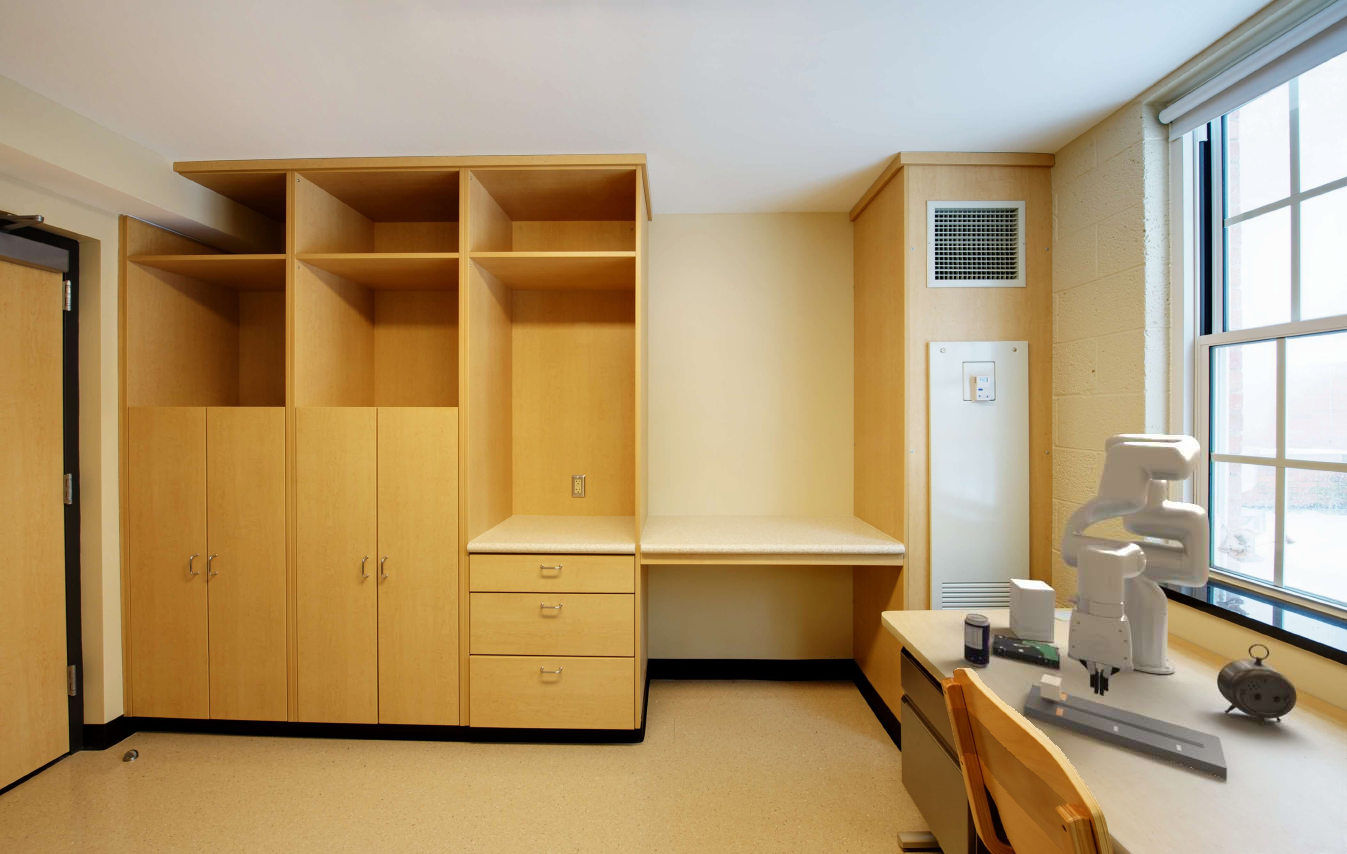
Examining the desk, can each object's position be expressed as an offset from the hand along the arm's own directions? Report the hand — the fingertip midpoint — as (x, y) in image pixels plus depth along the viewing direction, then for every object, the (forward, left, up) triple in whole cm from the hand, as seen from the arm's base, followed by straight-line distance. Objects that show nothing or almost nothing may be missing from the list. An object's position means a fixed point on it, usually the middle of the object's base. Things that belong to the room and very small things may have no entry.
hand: (1099, 692), depth 110 cm
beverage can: (-12, -25, -7) cm, 29 cm away
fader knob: (+2, -8, -4) cm, 9 cm away
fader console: (+2, +3, -6) cm, 7 cm away
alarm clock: (-22, +25, -7) cm, 34 cm away
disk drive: (-26, -16, -7) cm, 32 cm away
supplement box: (-42, -17, -7) cm, 46 cm away
